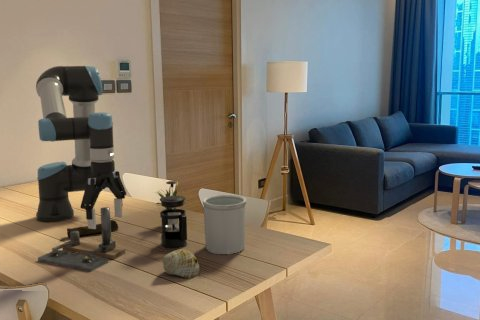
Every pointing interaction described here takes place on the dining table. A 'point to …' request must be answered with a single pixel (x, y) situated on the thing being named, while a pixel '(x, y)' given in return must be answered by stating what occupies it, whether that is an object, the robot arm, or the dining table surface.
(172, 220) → the house plant
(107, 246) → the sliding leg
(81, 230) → the hand tool
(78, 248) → the grey lever handle base
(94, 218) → the robot arm
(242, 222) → the utensil holder
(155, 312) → the dining table surface
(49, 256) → the bolt plate
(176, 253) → the seashell
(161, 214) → the french press
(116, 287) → the dining table surface
